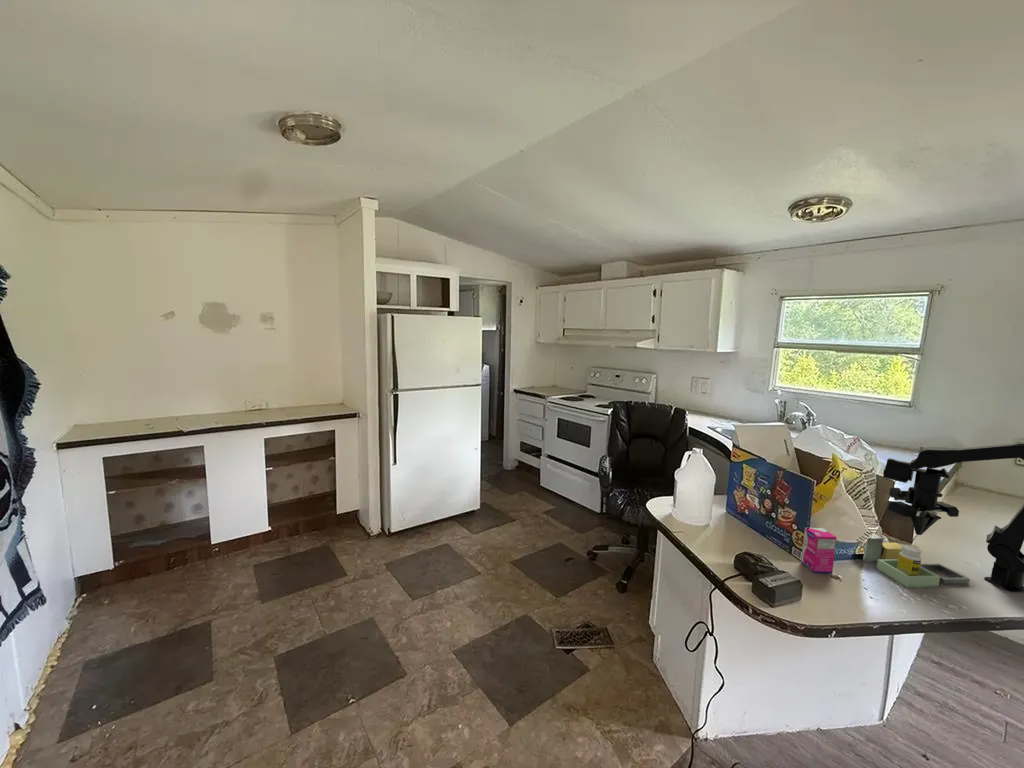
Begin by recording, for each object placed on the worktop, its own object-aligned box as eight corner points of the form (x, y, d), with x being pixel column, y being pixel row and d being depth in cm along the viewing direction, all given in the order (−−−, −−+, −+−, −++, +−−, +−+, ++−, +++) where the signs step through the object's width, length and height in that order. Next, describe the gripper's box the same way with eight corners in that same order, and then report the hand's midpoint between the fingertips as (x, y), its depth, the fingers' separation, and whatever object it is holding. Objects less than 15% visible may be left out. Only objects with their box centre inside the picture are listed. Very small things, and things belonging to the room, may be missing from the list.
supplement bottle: (912, 581, 121) (917, 553, 120) (892, 572, 125) (896, 545, 124) (921, 578, 123) (926, 550, 122) (901, 569, 127) (905, 543, 126)
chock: (894, 554, 138) (896, 542, 137) (906, 561, 134) (908, 549, 134) (874, 554, 138) (875, 542, 137) (885, 560, 134) (887, 548, 133)
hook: (842, 515, 154) (862, 507, 153) (864, 547, 151) (885, 539, 149) (850, 519, 148) (871, 510, 146) (873, 552, 144) (895, 544, 142)
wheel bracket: (872, 553, 138) (876, 527, 136) (885, 561, 133) (890, 534, 132) (851, 553, 137) (855, 527, 136) (864, 561, 132) (868, 534, 131)
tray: (905, 568, 129) (906, 559, 129) (938, 586, 120) (940, 576, 120) (876, 568, 128) (877, 559, 128) (907, 587, 119) (909, 577, 119)
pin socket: (938, 569, 130) (939, 563, 129) (968, 584, 122) (969, 579, 121) (913, 569, 129) (914, 563, 129) (943, 585, 121) (944, 579, 121)
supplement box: (799, 562, 130) (804, 526, 129) (819, 563, 130) (824, 527, 129) (812, 573, 125) (817, 535, 123) (833, 574, 125) (838, 537, 123)
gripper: (926, 478, 143) (919, 523, 145) (875, 478, 141) (868, 523, 143) (964, 491, 132) (955, 539, 134) (909, 490, 130) (901, 539, 132)
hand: (918, 534), depth 136 cm, fingers closed
